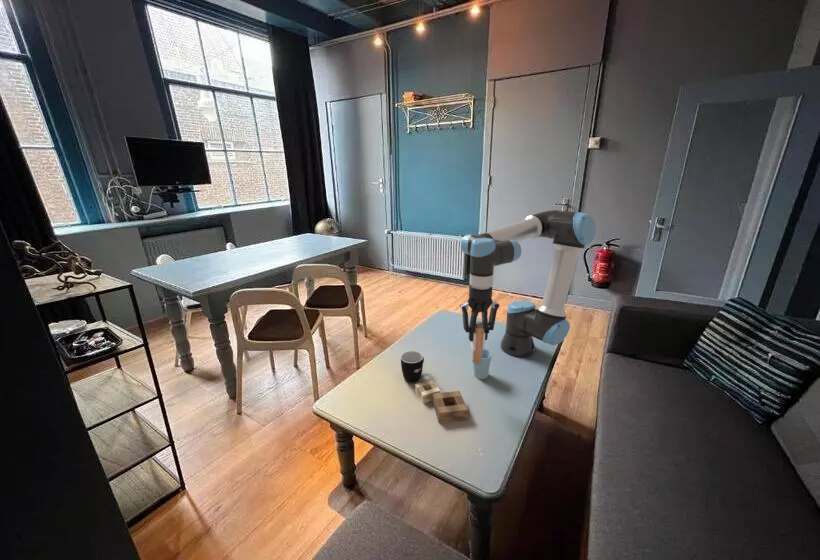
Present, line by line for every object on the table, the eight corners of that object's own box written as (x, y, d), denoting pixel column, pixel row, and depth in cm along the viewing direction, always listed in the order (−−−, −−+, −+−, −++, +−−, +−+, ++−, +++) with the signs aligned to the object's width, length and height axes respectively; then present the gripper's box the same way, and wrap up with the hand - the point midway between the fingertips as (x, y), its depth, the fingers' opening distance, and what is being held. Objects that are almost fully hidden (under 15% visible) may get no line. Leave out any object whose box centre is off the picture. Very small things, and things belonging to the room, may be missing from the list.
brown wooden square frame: (459, 399, 120) (459, 390, 119) (467, 419, 111) (467, 409, 110) (432, 402, 119) (432, 393, 118) (438, 422, 110) (438, 413, 108)
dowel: (479, 358, 118) (481, 321, 113) (482, 363, 115) (484, 325, 110) (471, 359, 118) (473, 321, 113) (474, 363, 115) (476, 325, 110)
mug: (414, 387, 127) (413, 365, 124) (396, 379, 133) (396, 358, 129) (431, 373, 136) (431, 352, 133) (414, 366, 141) (414, 345, 138)
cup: (469, 369, 138) (470, 348, 134) (487, 369, 138) (489, 348, 134) (473, 381, 131) (474, 358, 127) (492, 380, 131) (493, 358, 127)
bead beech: (431, 387, 127) (431, 379, 126) (440, 398, 121) (440, 390, 120) (415, 392, 125) (415, 384, 124) (423, 403, 119) (423, 395, 118)
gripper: (498, 280, 112) (494, 341, 119) (454, 283, 110) (453, 344, 117) (508, 287, 105) (502, 351, 112) (461, 291, 103) (459, 356, 110)
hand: (477, 348), depth 115 cm, fingers closed on dowel, 3 cm apart
